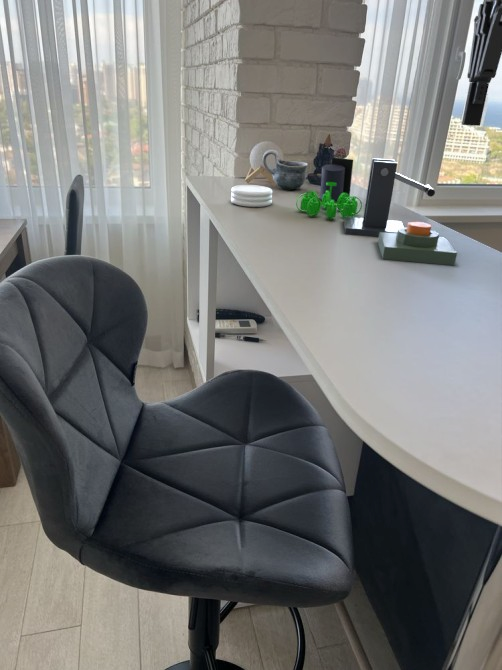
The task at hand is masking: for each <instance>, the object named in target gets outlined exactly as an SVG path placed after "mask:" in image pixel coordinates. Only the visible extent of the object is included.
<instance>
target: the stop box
mask: <svg viewBox="0 0 502 670" xmlns="http://www.w3.org/2000/svg"><path fill="white" fill-rule="evenodd" d="M406 231H407V226H404V227H402V228H399V229H398V230H397V233H386V232H379V237H378V239H377V245H378V249H379V252H380V255H381V258H382V260H387V261H388V260H389V261H401V262H412V263H421V264H423V263H424V264H435V265H445V266H455V265H456V261H457V260H456V259H457V255H458V252H457V251H456V249H455V248H454V246H452V244H451V243H450V242H449V240H448V239H447V238H446V237H443V236H440V234H439V233H438V232H437V231H435V230H432V229H431V231H430V235H425V236H422V235H414V234H410V233H407V232H406Z"/></svg>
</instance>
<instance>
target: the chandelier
mask: <svg viewBox="0 0 502 670" xmlns="http://www.w3.org/2000/svg"><path fill="white" fill-rule="evenodd" d="M336 184H337V183H334V182H327V183H326V185H328V186H330V193H329V191H326V192H325V194H323V197H322V199H320V197H319V195H318V194H317V192H316V191H314V190H308V191H306V192H305V193H301V194H300V195H299V196H298V197H297V198H296V201H295V205H296V206H295V207H296V208H297V210H298V212H301V213H304V214H307V216H308V217H311V218H314V217H316V216H318V214H319V213H320V211H321V207H323V208H324V210H325V211H326V212H325V217H327V218H328V219H329V220H330V221H332V220H333V219H334V218H336V216H337V210H338V211H339V214H340V215H341V217H342V218H343V219H344V217H354V218H355V216H356V215H358V214H359V213H360V212H361V211H362V208H363V203H362V200H361V199H360V197H358V196H353V195H352V196H351V195H350V197H349V194H347V193H342V194H341V195H340V196H339V198H338V201H337V202H334V200H331V190H332V186H336ZM346 195H347V197H346ZM300 198H301V200H300ZM299 200H300V206H298V201H299ZM358 201H359V202H360V208H359V210H358ZM299 207H300V208H299ZM357 210H358V211H357Z"/></svg>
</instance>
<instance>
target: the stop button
mask: <svg viewBox="0 0 502 670" xmlns="http://www.w3.org/2000/svg"><path fill="white" fill-rule="evenodd" d="M406 227H407V231H406V232H407V233H410V234H414V235H422V236H425V235H430V231H431V230H432V224H431V223H428V222H423V221H409V222H407V226H406Z"/></svg>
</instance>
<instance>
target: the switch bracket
mask: <svg viewBox="0 0 502 670" xmlns="http://www.w3.org/2000/svg"><path fill="white" fill-rule="evenodd" d="M370 164H371V165H370V169H369V170H370V171H369V178H368V184H367V190H366V198H365V204H364V210H363V217H355V216H354V217H352V216H351V217H344V218H343V230H344V234H345V235H353V236H354V235H355V236H356V235H357V236H366V237H376V238H377V237H378V238H379V232H386V233H397V230H398V229H399V228H402V227H405V226H404V225H403V222H402V221H400V220H389V215H390V210H391V204H392V199H393V198H392V197H393V192H394V186H395V180H396V179H395V175H396V173H397V168H398V162H396V160H395V159H389V158H375V157H372V158H371V163H370Z"/></svg>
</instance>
